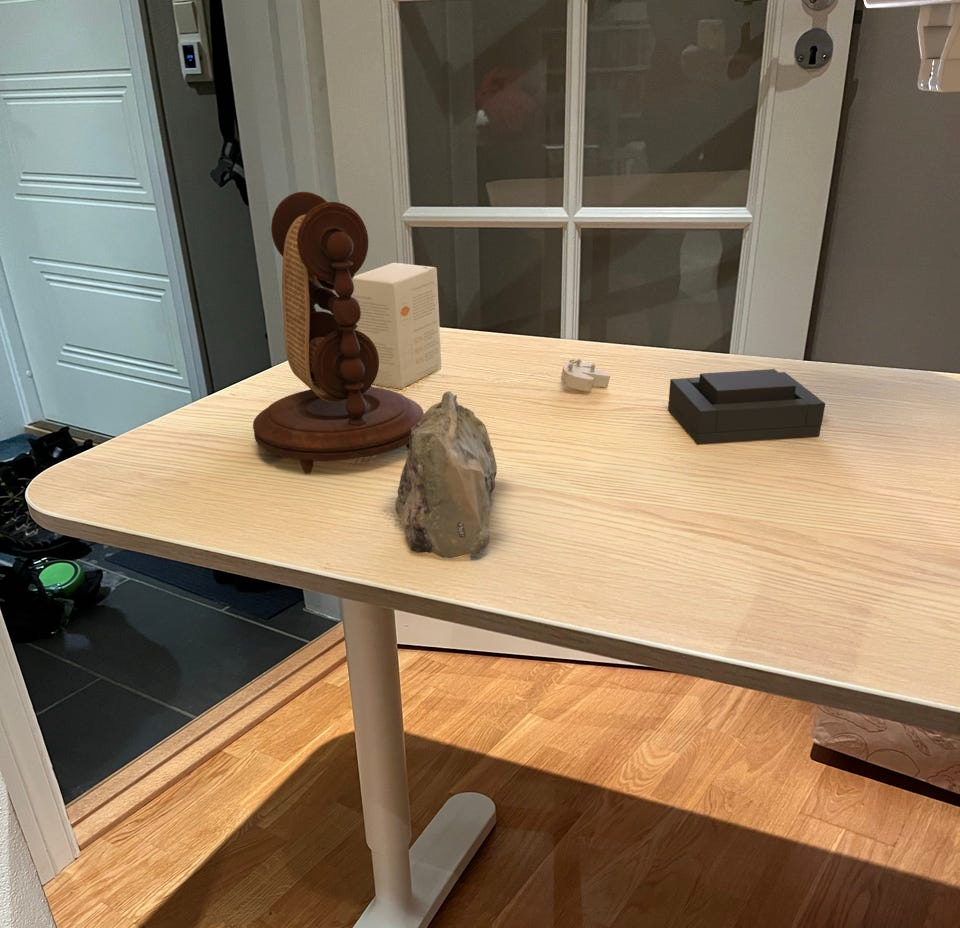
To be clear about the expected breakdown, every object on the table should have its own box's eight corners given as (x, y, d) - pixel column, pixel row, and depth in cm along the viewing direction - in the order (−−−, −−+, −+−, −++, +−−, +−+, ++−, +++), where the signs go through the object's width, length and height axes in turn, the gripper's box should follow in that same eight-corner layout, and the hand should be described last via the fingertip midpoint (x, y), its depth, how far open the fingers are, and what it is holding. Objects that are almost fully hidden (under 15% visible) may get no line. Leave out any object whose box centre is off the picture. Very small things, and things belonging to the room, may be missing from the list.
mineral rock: (462, 475, 76) (457, 351, 71) (571, 508, 70) (575, 376, 65) (348, 533, 68) (333, 397, 62) (461, 575, 62) (455, 430, 57)
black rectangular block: (769, 401, 87) (774, 368, 85) (791, 419, 82) (796, 385, 81) (696, 405, 86) (699, 373, 84) (713, 424, 82) (717, 390, 80)
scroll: (237, 434, 85) (196, 194, 74) (387, 406, 91) (369, 179, 80) (286, 491, 74) (246, 219, 63) (453, 455, 80) (442, 199, 69)
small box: (400, 362, 103) (393, 261, 97) (443, 369, 101) (438, 265, 95) (356, 382, 97) (346, 276, 92) (400, 390, 95) (392, 282, 89)
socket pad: (780, 403, 89) (785, 371, 87) (819, 436, 81) (825, 403, 80) (667, 410, 88) (670, 378, 86) (696, 445, 81) (700, 411, 79)
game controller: (616, 392, 93) (617, 366, 91) (503, 404, 91) (502, 377, 89) (598, 375, 97) (599, 349, 96) (490, 386, 96) (489, 360, 94)
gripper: (1188, -245, 44) (1094, 97, 51) (956, -165, 61) (910, 82, 68) (1060, -242, 43) (984, 102, 51) (862, -162, 60) (827, 86, 68)
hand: (940, 91), depth 60 cm, fingers closed
